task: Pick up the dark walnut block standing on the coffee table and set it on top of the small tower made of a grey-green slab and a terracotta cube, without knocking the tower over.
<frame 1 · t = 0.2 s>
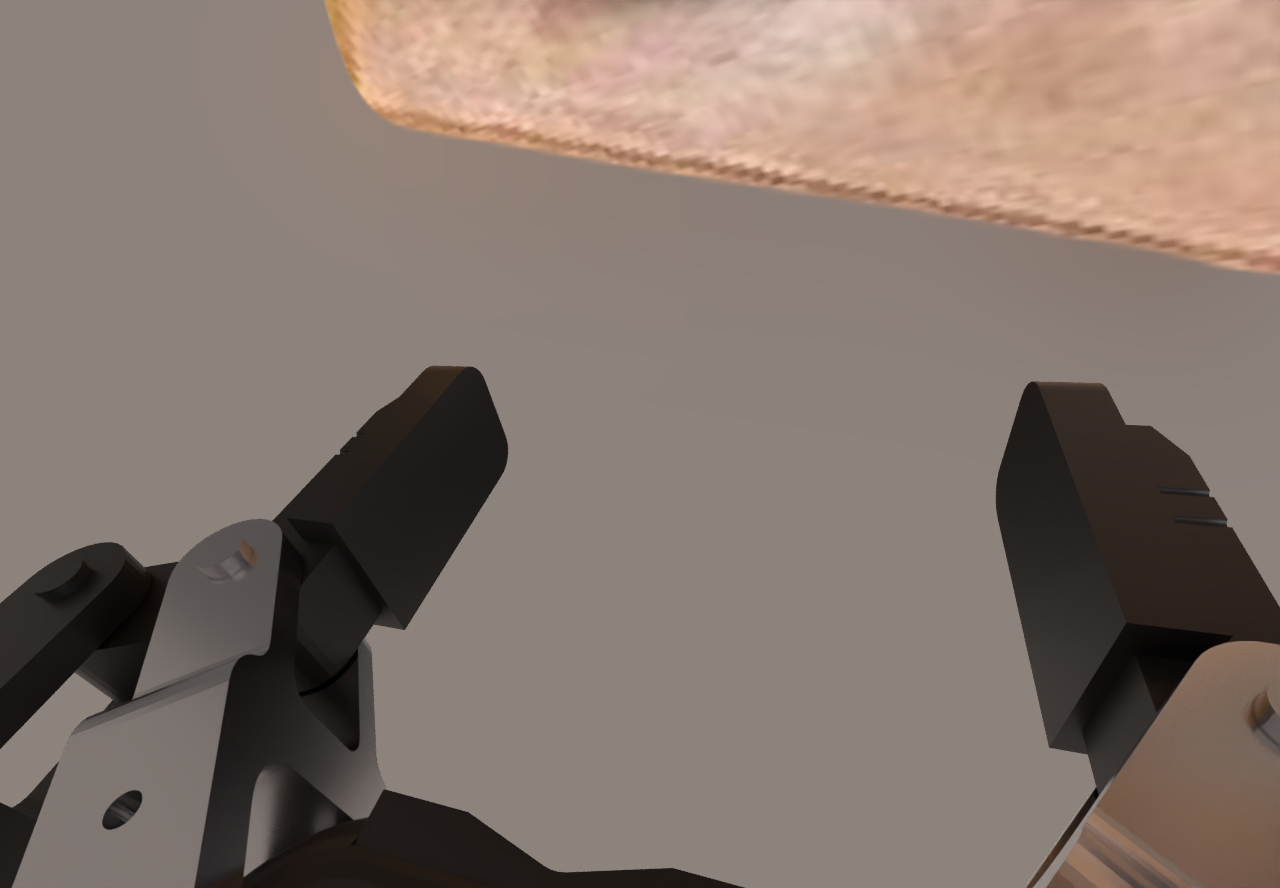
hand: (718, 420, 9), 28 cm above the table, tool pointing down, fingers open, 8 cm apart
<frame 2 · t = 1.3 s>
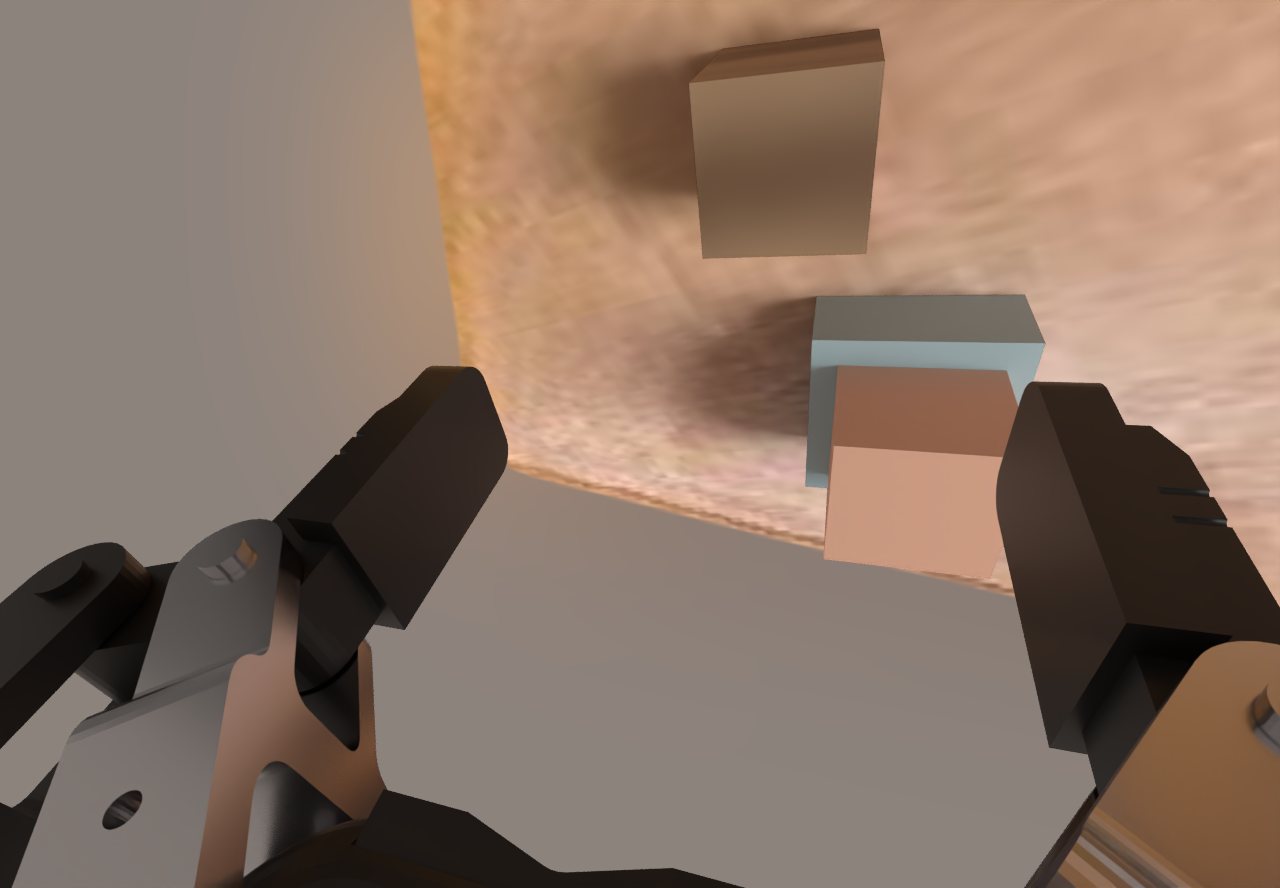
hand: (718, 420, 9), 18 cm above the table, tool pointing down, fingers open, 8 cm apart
tower base: (902, 371, 28), on the table
walnut block: (796, 122, 22), on the table
tower top: (907, 428, 25), point 4 cm above the table
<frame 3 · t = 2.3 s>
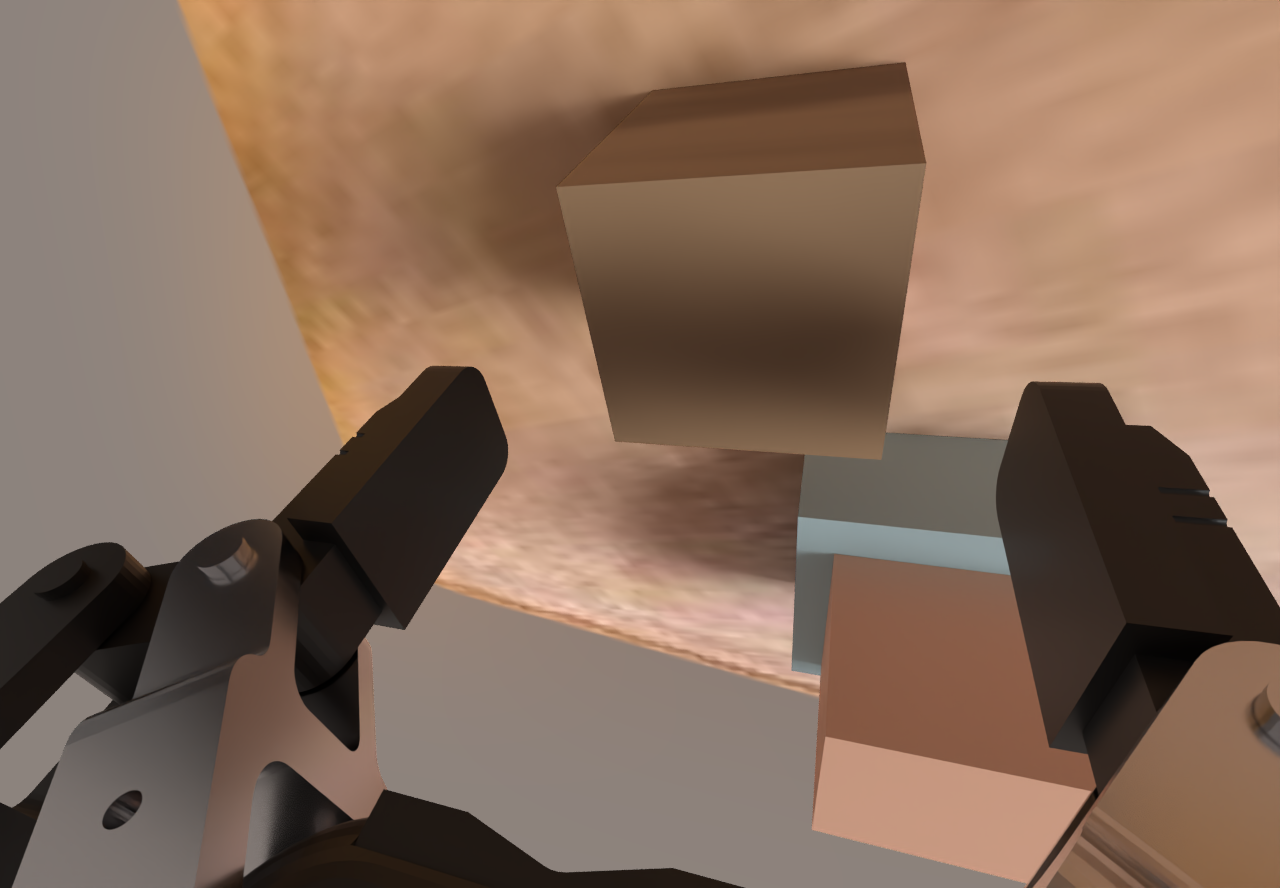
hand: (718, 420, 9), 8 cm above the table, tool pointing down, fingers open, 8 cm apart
tower base: (927, 521, 20), on the table, touching tower top
walnut block: (772, 201, 14), on the table
tower top: (934, 631, 18), point 4 cm above the table, touching tower base
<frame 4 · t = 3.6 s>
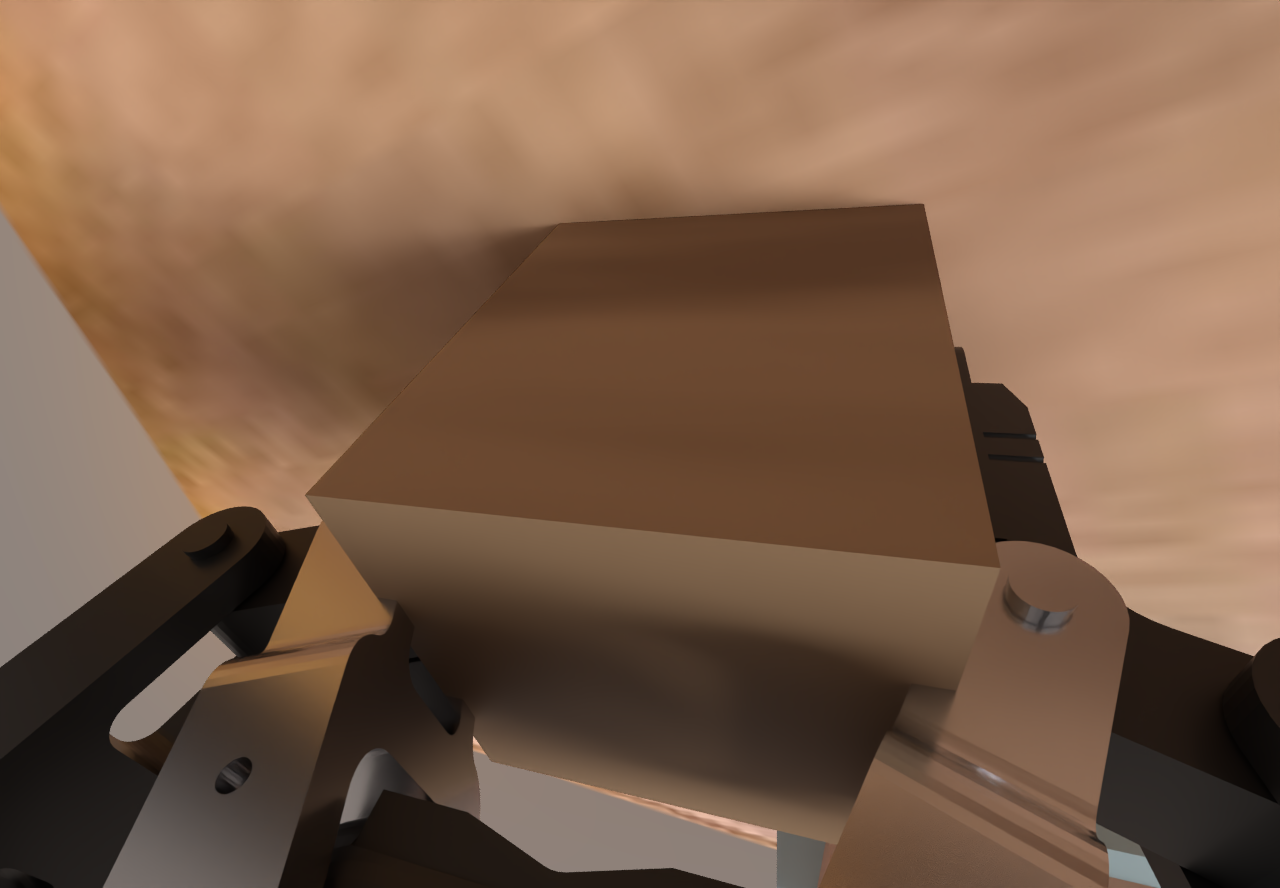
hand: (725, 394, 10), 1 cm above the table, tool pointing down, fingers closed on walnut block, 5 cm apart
tower base: (946, 715, 16), on the table, touching tower top
walnut block: (734, 367, 10), on the table, touching gripper
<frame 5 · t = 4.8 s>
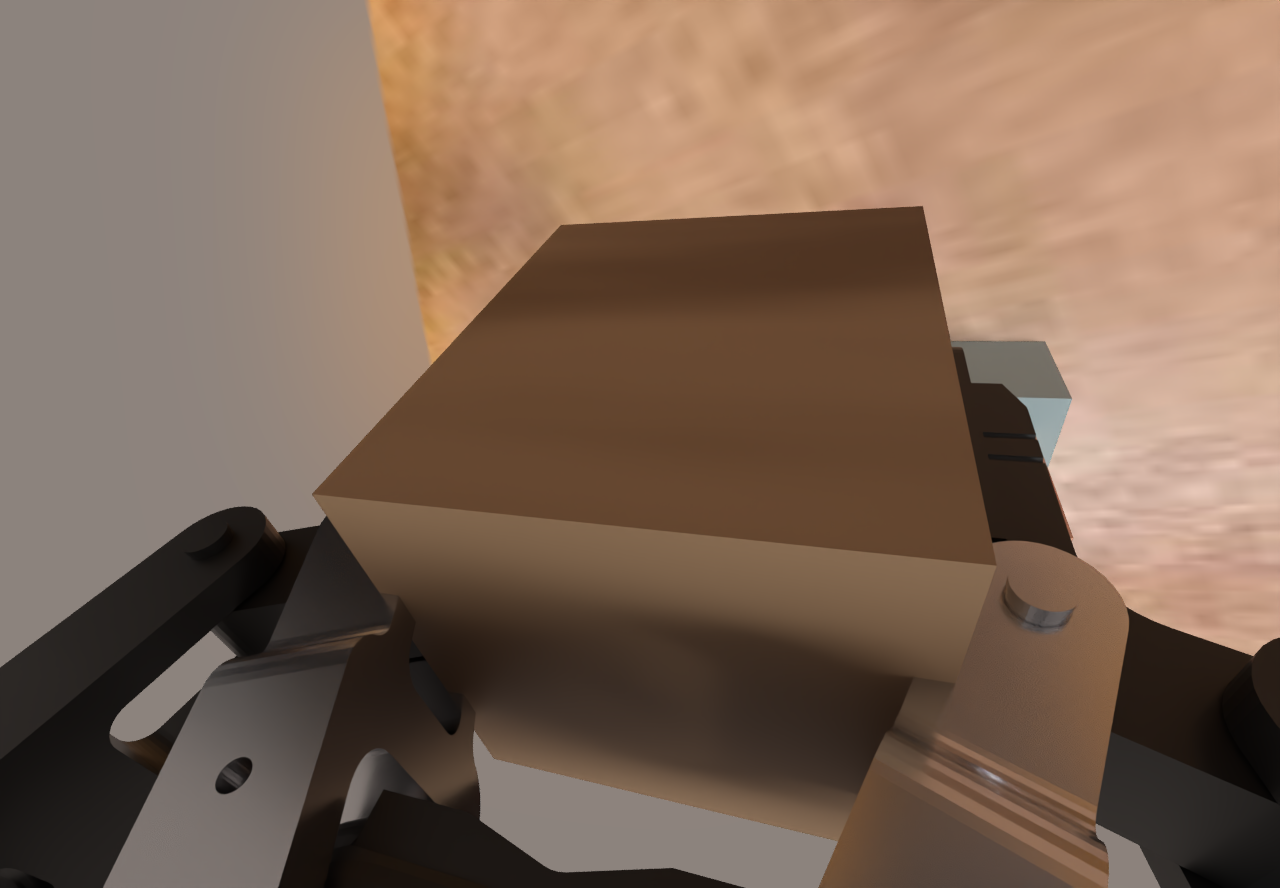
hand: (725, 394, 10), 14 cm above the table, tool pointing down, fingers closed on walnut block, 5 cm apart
tower base: (910, 420, 26), on the table, touching tower top
walnut block: (734, 368, 10), point 13 cm above the table, touching gripper
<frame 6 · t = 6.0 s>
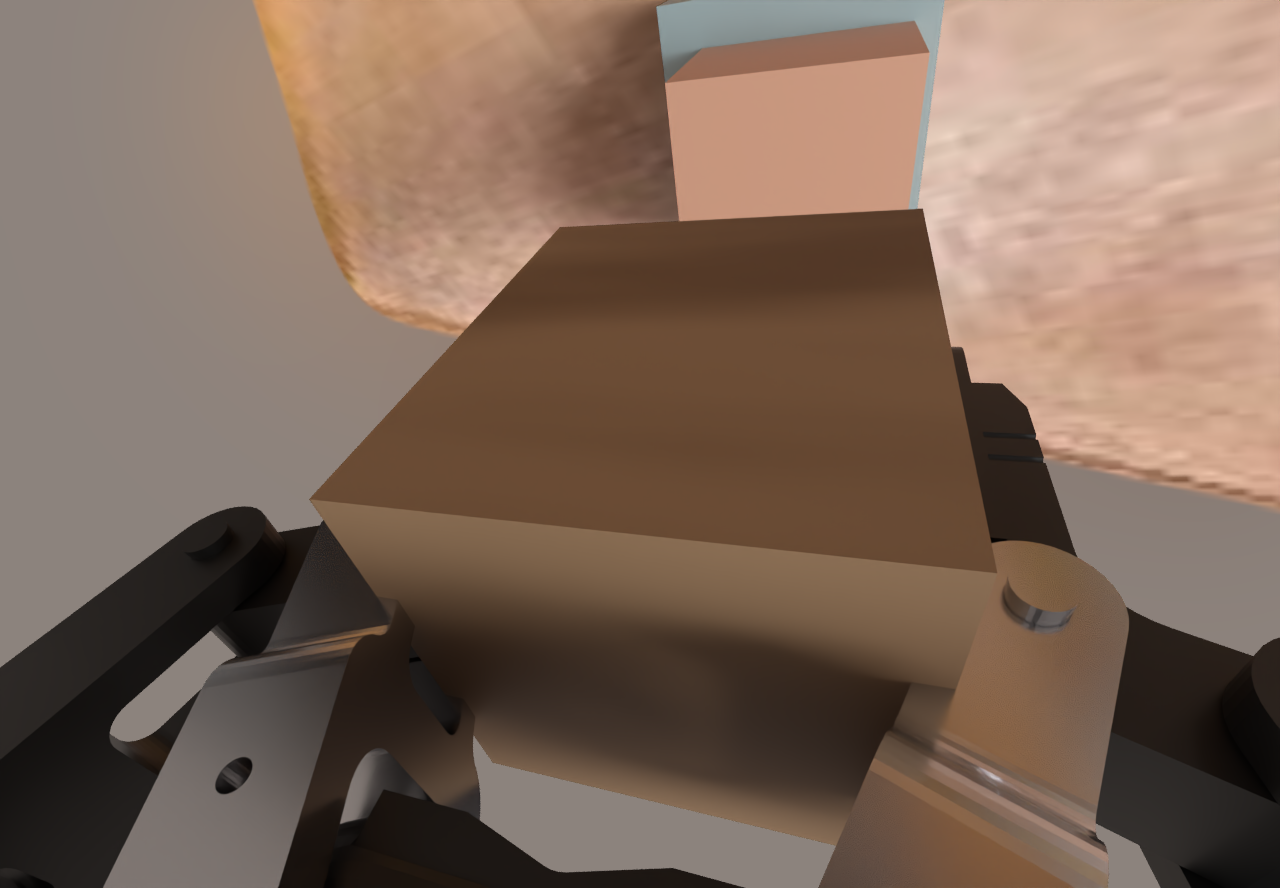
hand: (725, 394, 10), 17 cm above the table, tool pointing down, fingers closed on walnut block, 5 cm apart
tower base: (801, 106, 22), on the table
walnut block: (734, 370, 10), point 17 cm above the table, touching gripper
tower top: (800, 145, 20), point 4 cm above the table
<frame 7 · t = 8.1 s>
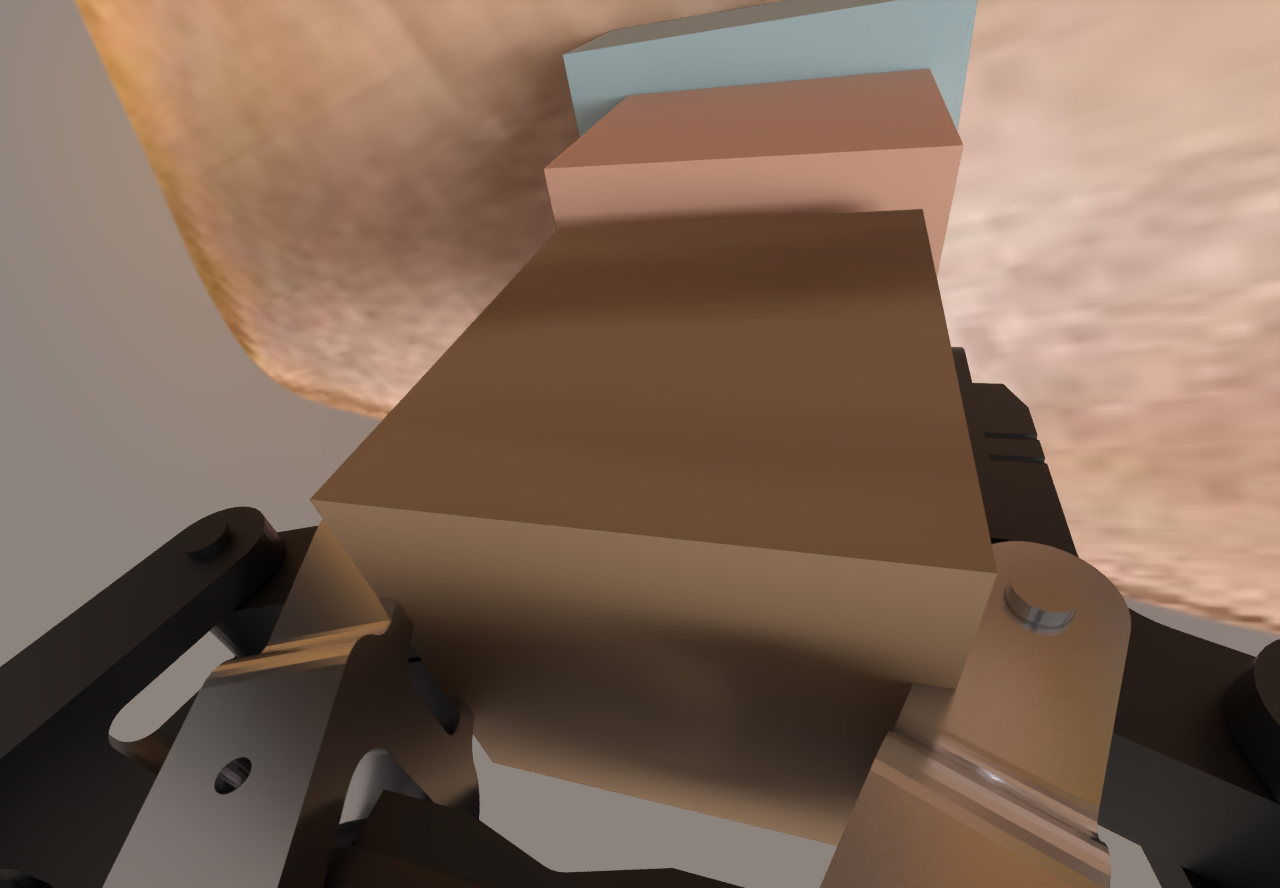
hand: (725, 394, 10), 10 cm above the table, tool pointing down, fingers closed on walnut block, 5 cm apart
tower base: (774, 173, 17), on the table, touching tower top
walnut block: (734, 370, 10), point 9 cm above the table, touching gripper
tower top: (767, 228, 14), point 4 cm above the table, touching tower base
when the fingers open (10 cm above the table, at t = 8.1 s): walnut block moves 1 cm, point 9 cm above the table.
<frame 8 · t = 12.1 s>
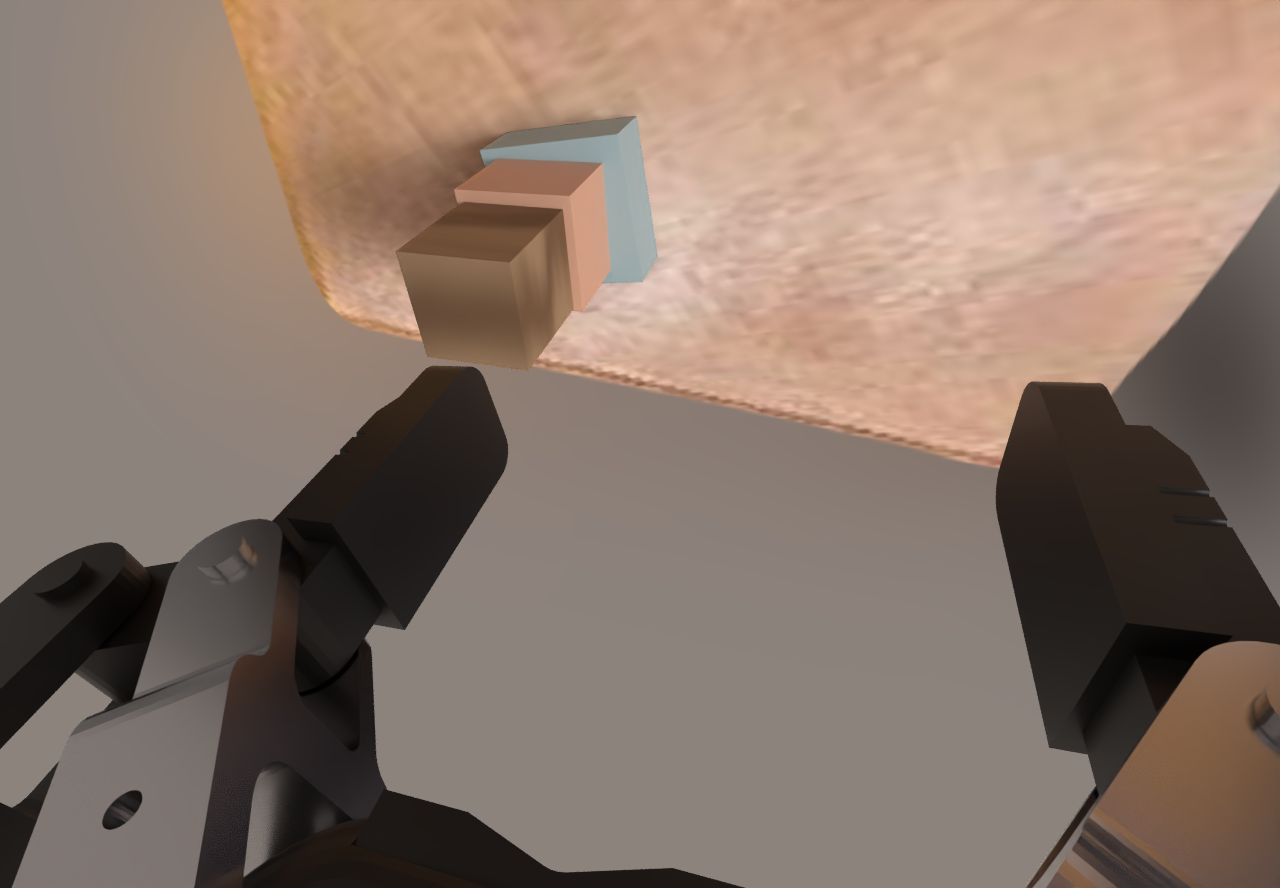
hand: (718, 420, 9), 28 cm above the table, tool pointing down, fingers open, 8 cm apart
tower base: (587, 194, 37), on the table, touching tower top
walnut block: (520, 257, 31), point 9 cm above the table
tower top: (556, 216, 34), point 4 cm above the table, touching tower base
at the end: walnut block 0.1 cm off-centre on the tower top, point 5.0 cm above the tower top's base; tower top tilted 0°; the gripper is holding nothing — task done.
